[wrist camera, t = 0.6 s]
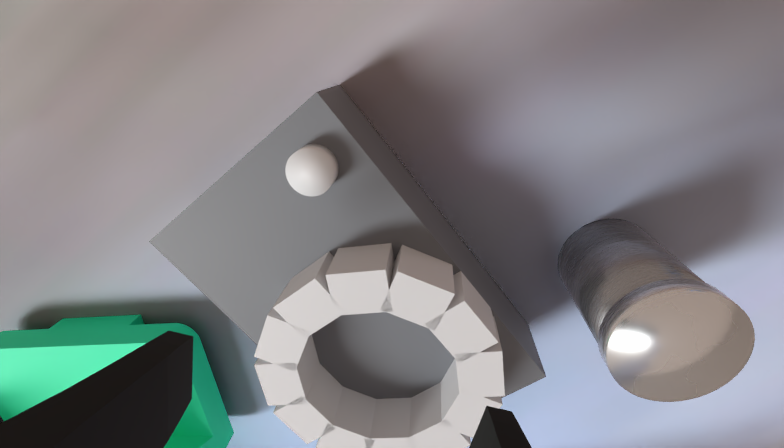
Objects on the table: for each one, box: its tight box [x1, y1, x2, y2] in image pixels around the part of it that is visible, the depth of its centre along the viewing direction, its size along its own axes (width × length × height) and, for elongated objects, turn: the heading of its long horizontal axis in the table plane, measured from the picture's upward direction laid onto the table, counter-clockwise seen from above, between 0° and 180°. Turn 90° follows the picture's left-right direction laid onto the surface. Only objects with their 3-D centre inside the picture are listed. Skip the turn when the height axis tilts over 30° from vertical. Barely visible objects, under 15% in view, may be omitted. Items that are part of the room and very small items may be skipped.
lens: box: [558, 219, 755, 402], centre depth 15 cm, size 4×4×6 cm
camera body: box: [149, 85, 546, 448], centre depth 17 cm, size 14×9×6 cm, turn 38°
